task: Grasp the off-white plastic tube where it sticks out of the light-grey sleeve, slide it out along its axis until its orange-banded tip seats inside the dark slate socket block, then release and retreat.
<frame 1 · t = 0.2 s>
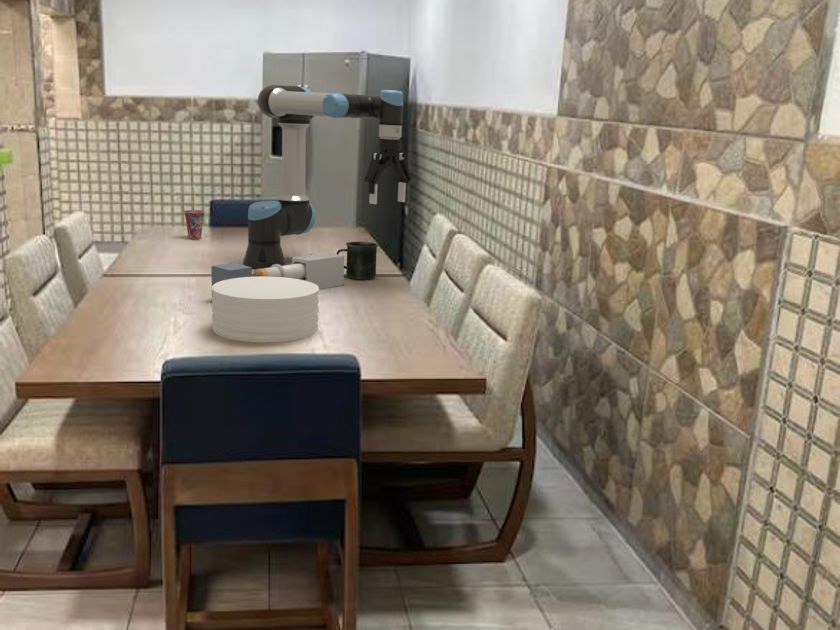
hand: (387, 202, 282), 28 cm above the table, fingers open, 13 cm apart
tube: (297, 271, 272), point 6 cm above the table, slide at 0.0 cm
mug: (356, 277, 298), on the table
cup: (195, 239, 361), on the table
sleeve: (317, 286, 280), on the table
socket: (231, 300, 254), on the table
plate stack: (265, 329, 226), on the table
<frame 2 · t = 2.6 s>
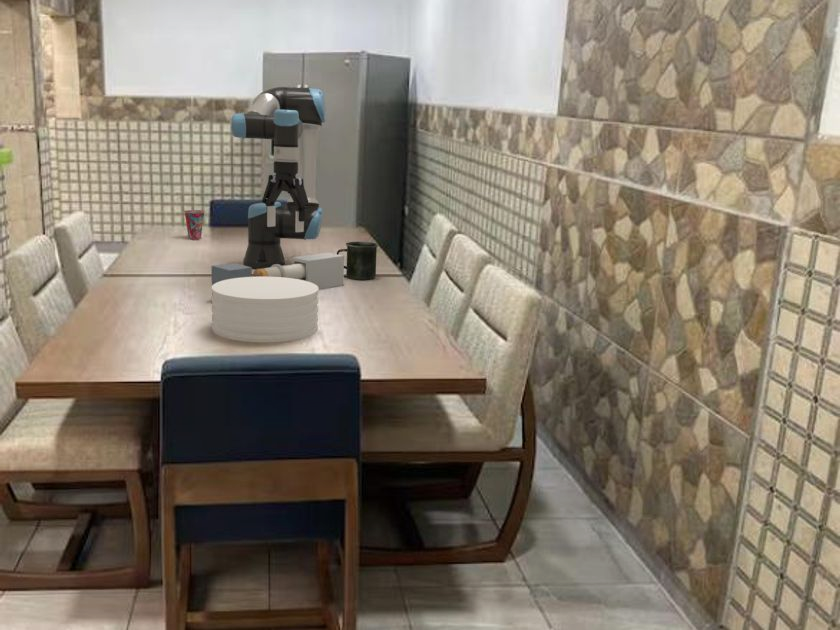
hand: (285, 229, 265), 20 cm above the table, fingers open, 13 cm apart
nothing on the table moved.
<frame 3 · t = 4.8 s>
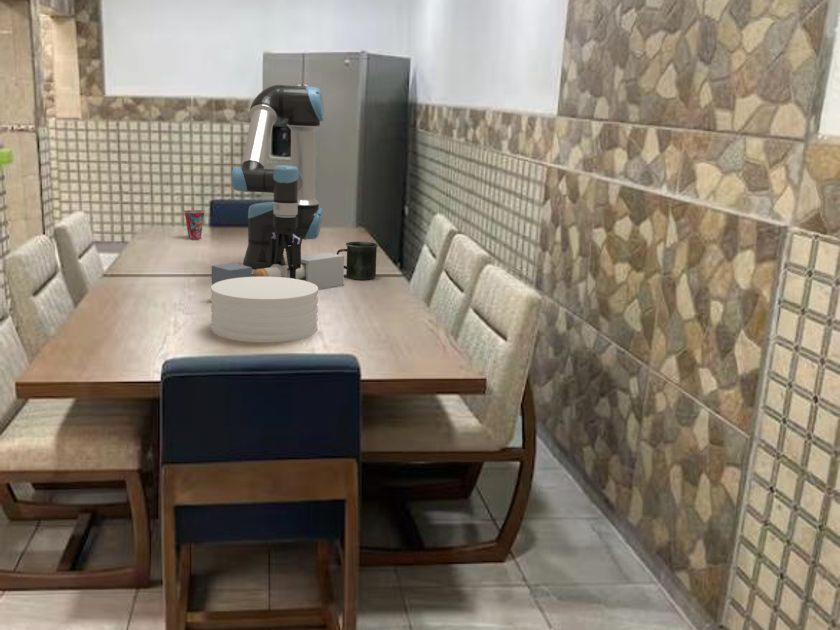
hand: (284, 287, 269), 1 cm above the table, fingers closed on tube, 5 cm apart
tube: (297, 271, 272), point 6 cm above the table, slide at 0.0 cm, touching gripper
everything else where it was.
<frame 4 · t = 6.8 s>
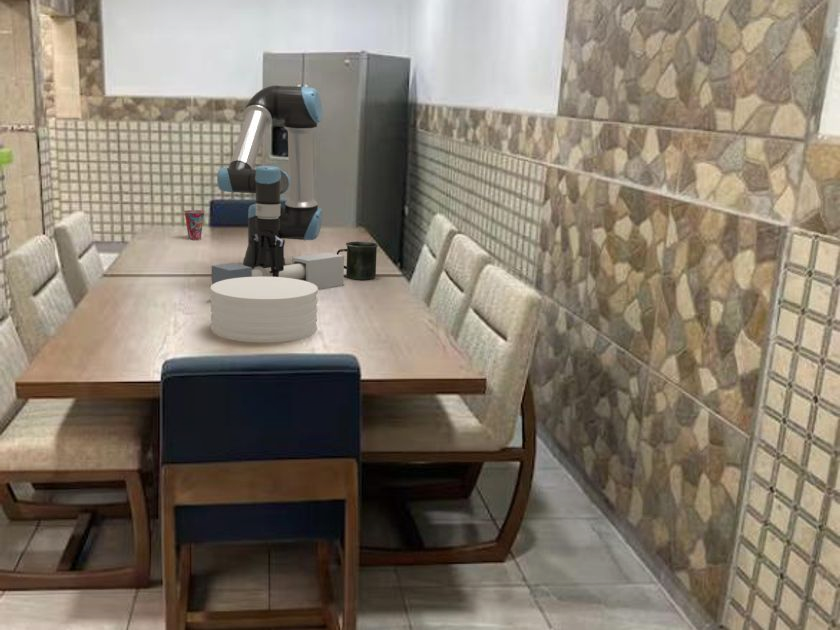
hand: (267, 290, 264), 1 cm above the table, fingers closed on tube, 5 cm apart
tube: (280, 273, 267), point 6 cm above the table, slide at 7.0 cm, touching gripper
everything else where it was.
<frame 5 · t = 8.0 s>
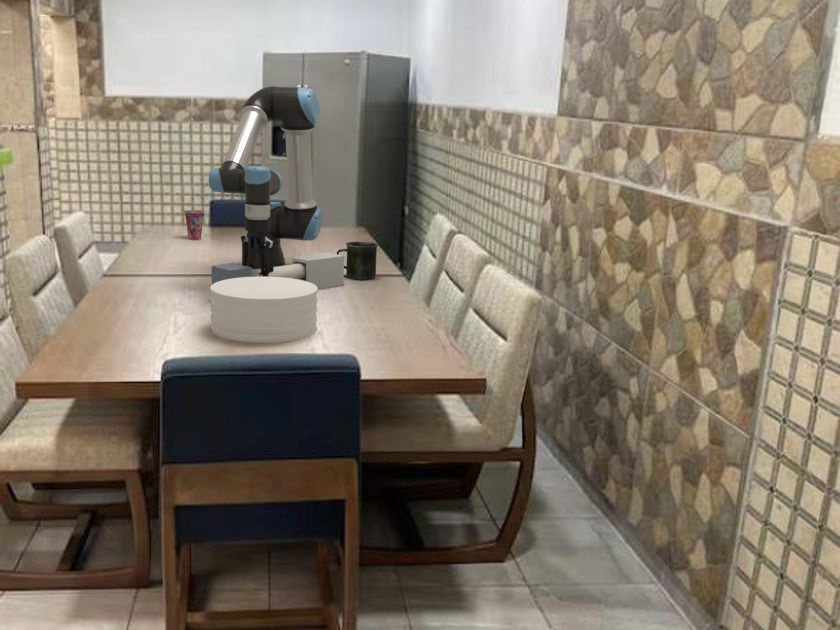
hand: (257, 292, 261), 1 cm above the table, fingers closed on tube, 5 cm apart
tube: (270, 275, 264), point 6 cm above the table, slide at 11.0 cm, touching gripper
everything else where it was.
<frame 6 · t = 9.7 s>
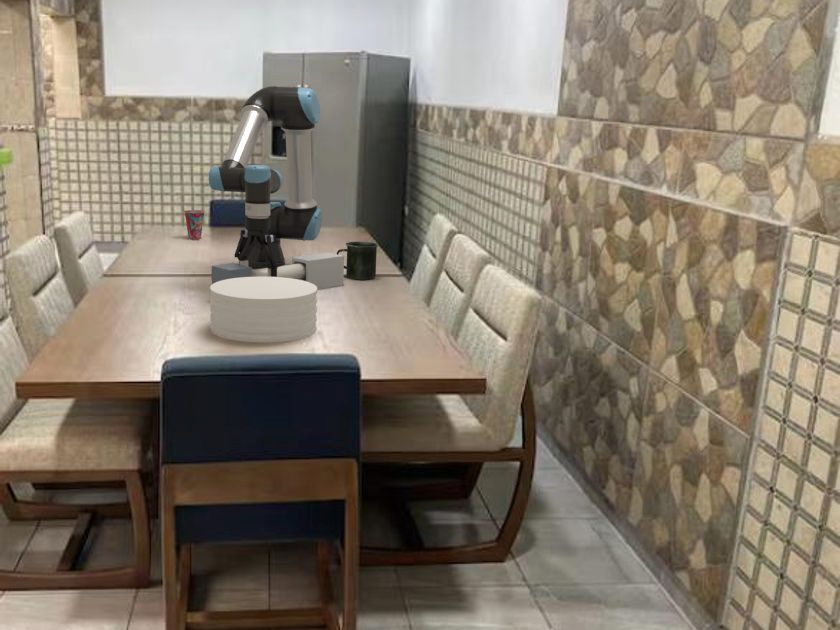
hand: (257, 284, 261), 4 cm above the table, fingers open, 13 cm apart
tube: (270, 275, 264), point 6 cm above the table, slide at 11.0 cm
everything else where it was.
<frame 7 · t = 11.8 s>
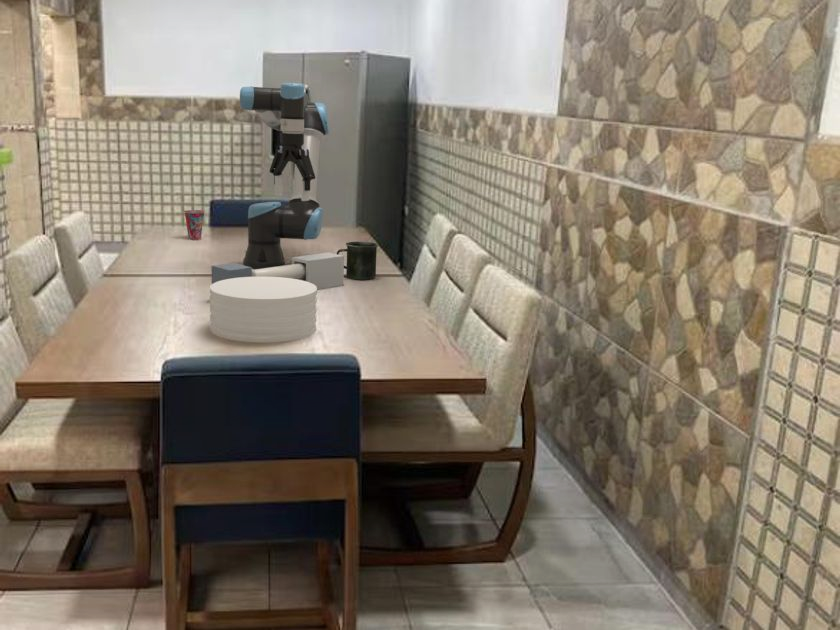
hand: (291, 198, 277), 28 cm above the table, fingers open, 13 cm apart
nothing on the table moved.
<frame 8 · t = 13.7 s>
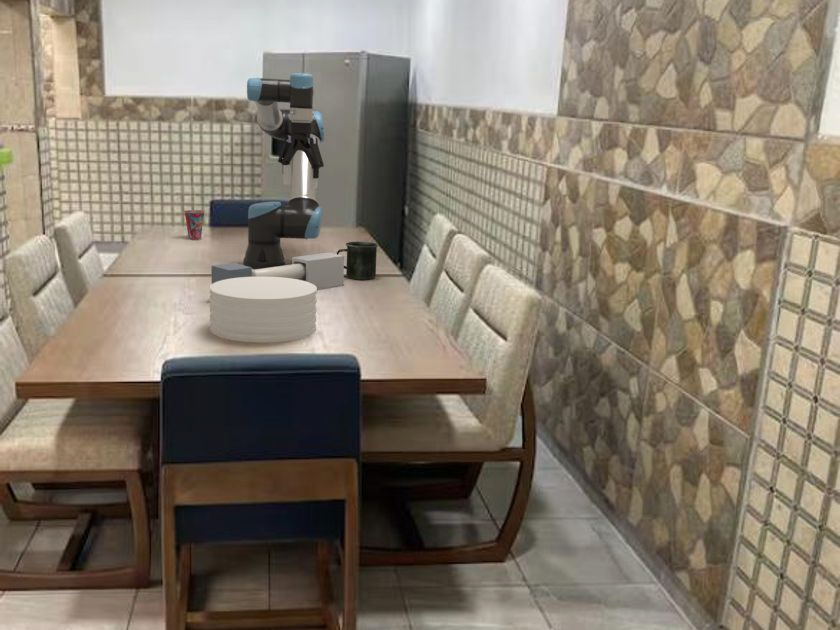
hand: (300, 186, 283), 32 cm above the table, fingers open, 13 cm apart
nothing on the table moved.
at the end: tube slide at 11.0 cm; the gripper is holding nothing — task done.
